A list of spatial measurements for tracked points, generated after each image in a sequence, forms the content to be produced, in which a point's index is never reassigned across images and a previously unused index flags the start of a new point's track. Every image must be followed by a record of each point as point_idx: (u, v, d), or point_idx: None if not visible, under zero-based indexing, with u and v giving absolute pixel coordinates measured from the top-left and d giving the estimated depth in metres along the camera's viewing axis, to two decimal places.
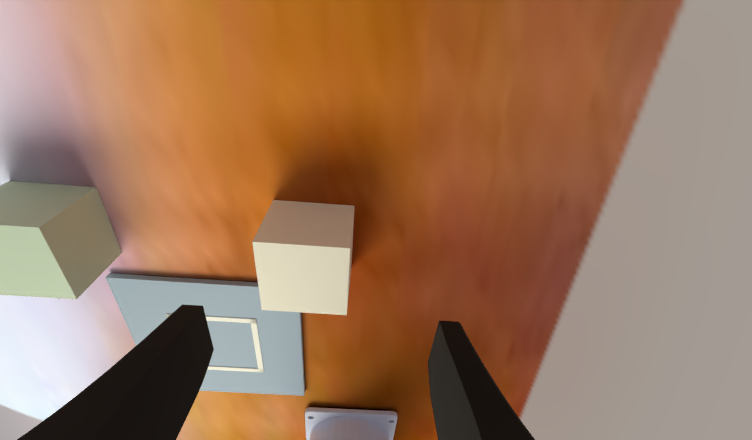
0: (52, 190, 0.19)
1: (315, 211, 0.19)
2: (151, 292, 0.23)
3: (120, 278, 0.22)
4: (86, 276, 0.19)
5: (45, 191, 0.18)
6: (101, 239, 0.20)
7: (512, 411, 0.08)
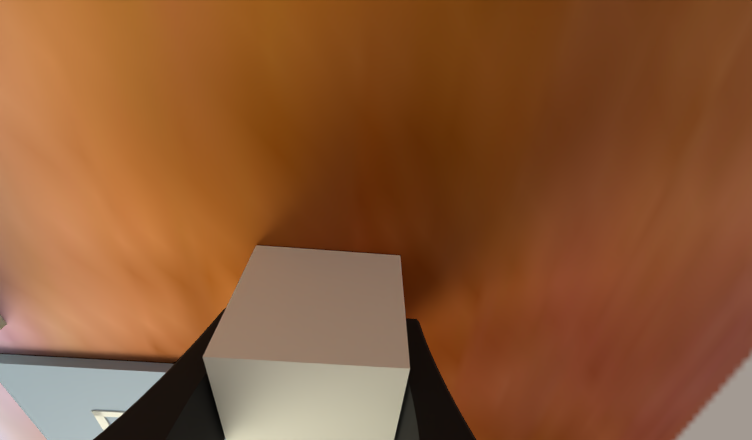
0: None
1: (331, 271, 0.10)
2: (63, 382, 0.14)
3: (9, 363, 0.14)
4: None
5: None
6: None
7: (455, 408, 0.08)
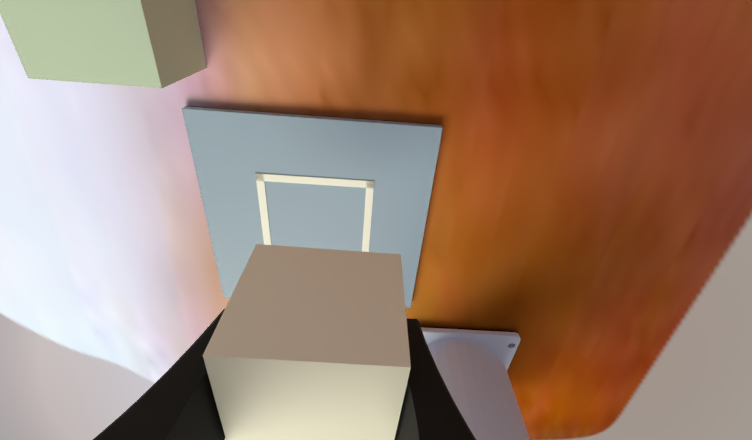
0: None
1: (332, 270, 0.10)
2: (240, 135, 0.17)
3: (202, 109, 0.16)
4: (172, 64, 0.13)
5: None
6: (188, 25, 0.14)
7: (455, 408, 0.08)
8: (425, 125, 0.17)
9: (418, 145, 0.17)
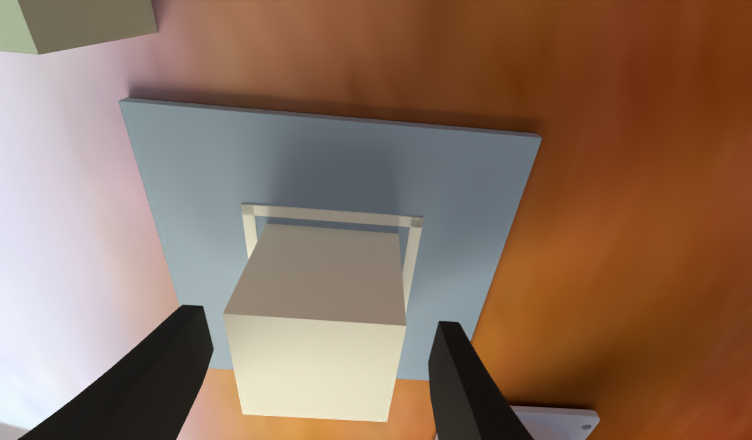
0: None
1: (335, 246, 0.11)
2: (216, 145, 0.10)
3: (151, 103, 0.10)
4: (70, 10, 0.07)
5: None
6: None
7: (512, 411, 0.08)
8: (511, 133, 0.11)
9: (499, 165, 0.11)
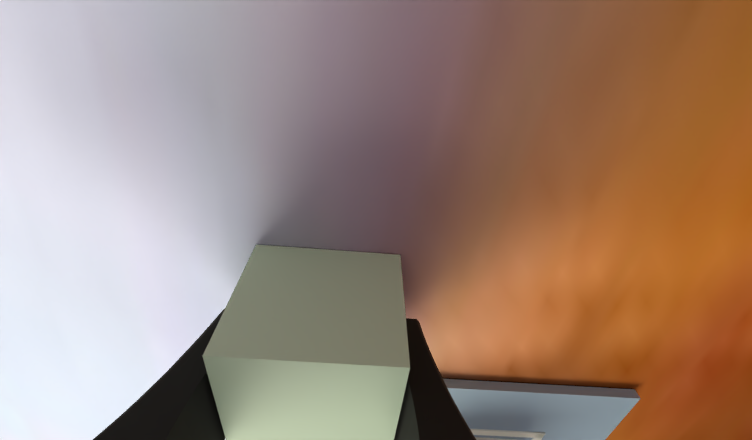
0: (340, 266, 0.10)
1: None
2: None
3: None
4: None
5: (332, 269, 0.10)
6: None
7: (455, 408, 0.08)
8: (616, 389, 0.15)
9: (606, 409, 0.15)
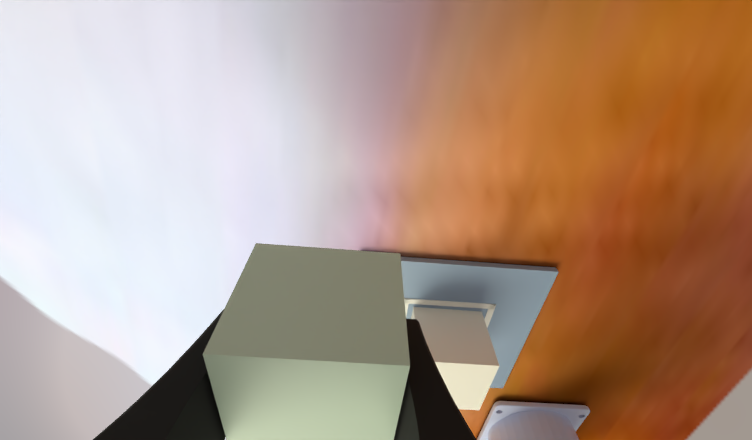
0: (340, 265, 0.10)
1: (453, 321, 0.22)
2: None
3: None
4: None
5: (332, 268, 0.10)
6: None
7: (455, 408, 0.08)
8: (543, 267, 0.22)
9: (536, 282, 0.22)
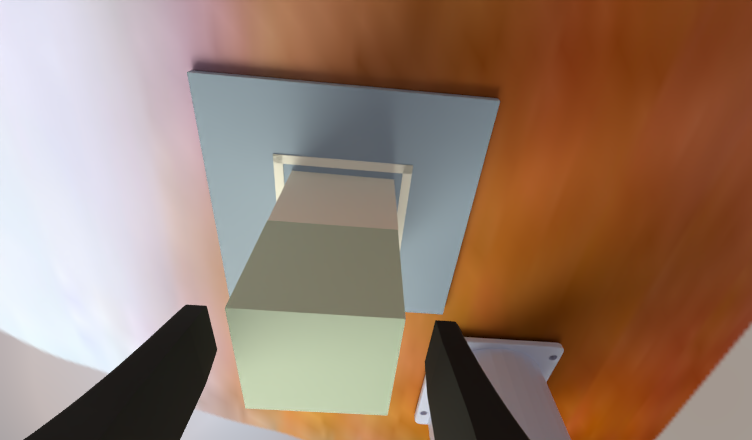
0: (343, 238, 0.12)
1: (346, 185, 0.15)
2: (257, 107, 0.14)
3: (211, 74, 0.13)
4: None
5: (336, 241, 0.11)
6: None
7: (507, 411, 0.08)
8: (478, 97, 0.14)
9: (469, 122, 0.14)
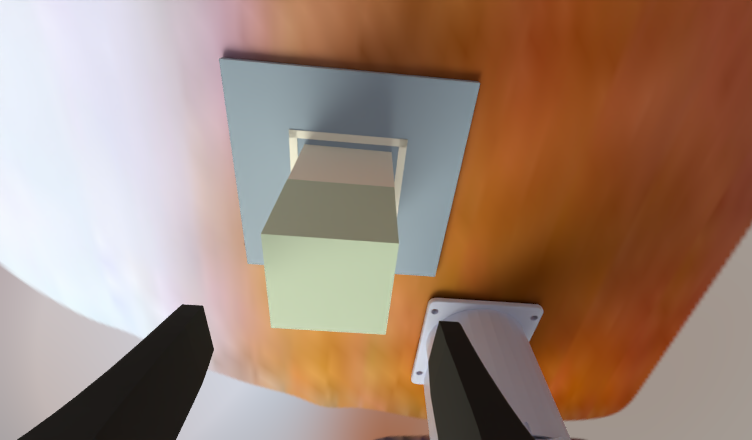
0: (350, 192, 0.14)
1: (350, 155, 0.17)
2: (276, 88, 0.17)
3: (239, 60, 0.16)
4: None
5: (344, 193, 0.14)
6: None
7: (512, 411, 0.08)
8: (462, 81, 0.17)
9: (454, 101, 0.17)
